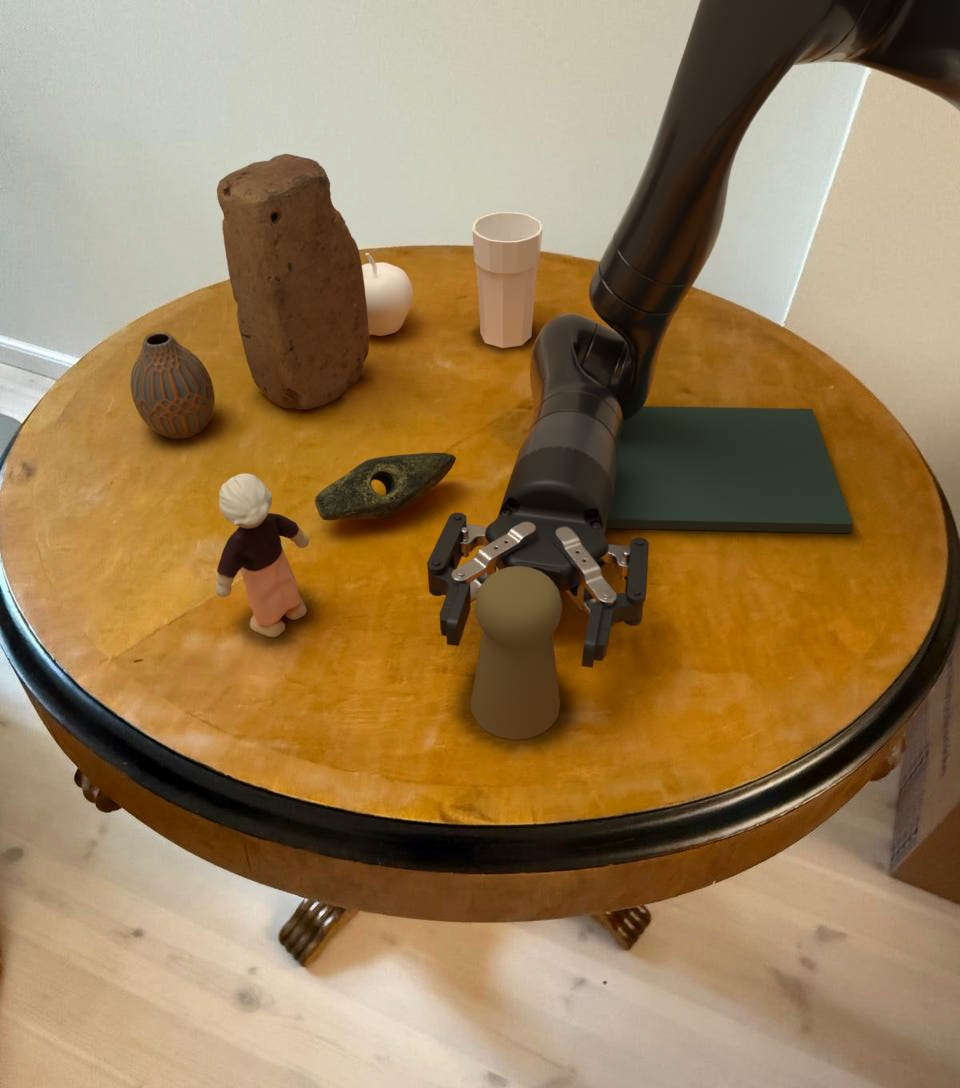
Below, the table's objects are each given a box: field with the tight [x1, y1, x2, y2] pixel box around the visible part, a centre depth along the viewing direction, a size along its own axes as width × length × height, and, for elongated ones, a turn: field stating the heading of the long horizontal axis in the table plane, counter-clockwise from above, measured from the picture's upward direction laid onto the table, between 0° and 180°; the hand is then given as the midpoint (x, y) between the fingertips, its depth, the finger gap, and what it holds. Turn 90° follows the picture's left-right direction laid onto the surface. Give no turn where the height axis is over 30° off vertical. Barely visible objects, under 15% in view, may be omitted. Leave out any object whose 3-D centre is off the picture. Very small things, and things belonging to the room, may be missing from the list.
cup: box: [471, 211, 543, 349], centre depth 91 cm, size 7×7×11 cm
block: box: [216, 153, 370, 410], centre depth 81 cm, size 11×8×20 cm
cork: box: [470, 566, 563, 741], centre depth 58 cm, size 6×6×11 cm
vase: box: [130, 331, 216, 440], centre depth 81 cm, size 7×7×9 cm
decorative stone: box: [314, 452, 457, 521], centre depth 74 cm, size 11×8×5 cm
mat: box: [606, 405, 853, 534], centre depth 79 cm, size 20×16×1 cm
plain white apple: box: [362, 252, 414, 337], centre depth 93 cm, size 7×7×8 cm
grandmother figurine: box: [214, 473, 310, 638], centre depth 63 cm, size 8×4×13 cm, turn 150°
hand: (519, 647), depth 57 cm, fingers open, 8 cm apart
